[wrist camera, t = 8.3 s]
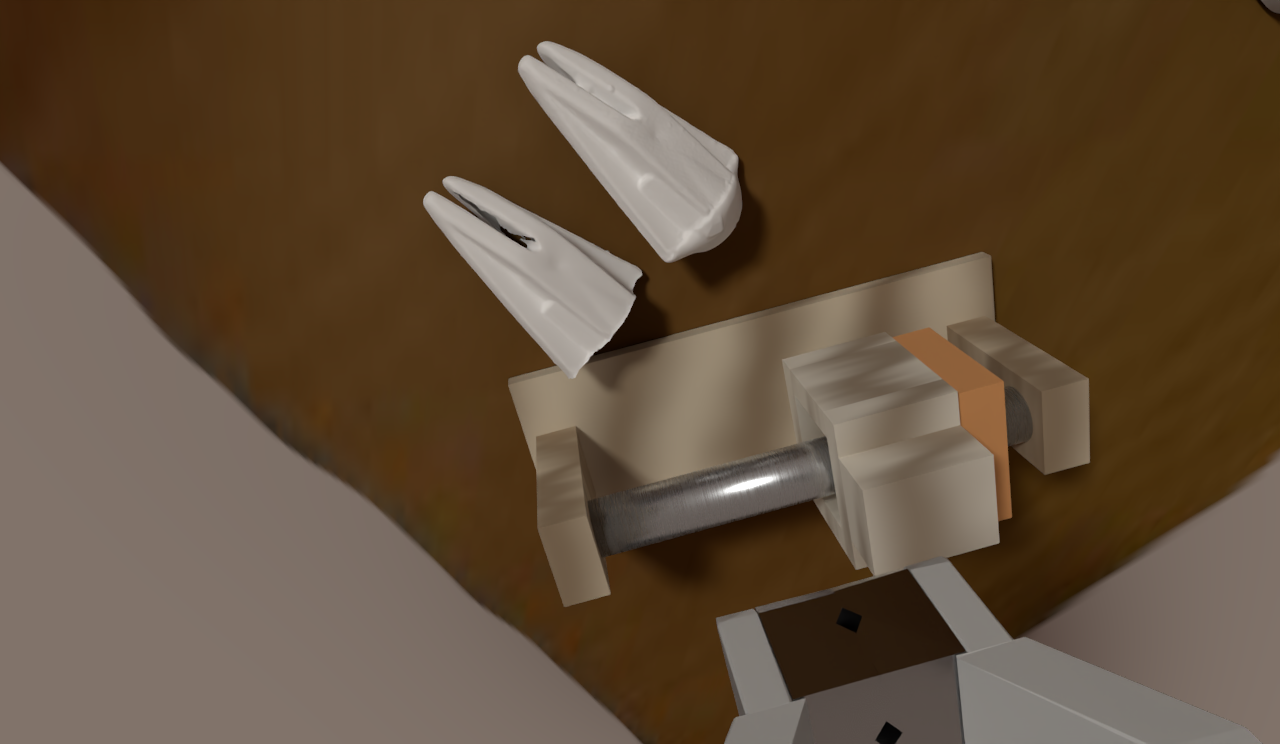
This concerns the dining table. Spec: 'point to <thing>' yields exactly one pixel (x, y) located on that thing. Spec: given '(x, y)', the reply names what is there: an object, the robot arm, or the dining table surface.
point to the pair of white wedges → (634, 177)
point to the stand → (755, 398)
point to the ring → (970, 400)
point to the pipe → (736, 490)
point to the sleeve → (893, 454)
